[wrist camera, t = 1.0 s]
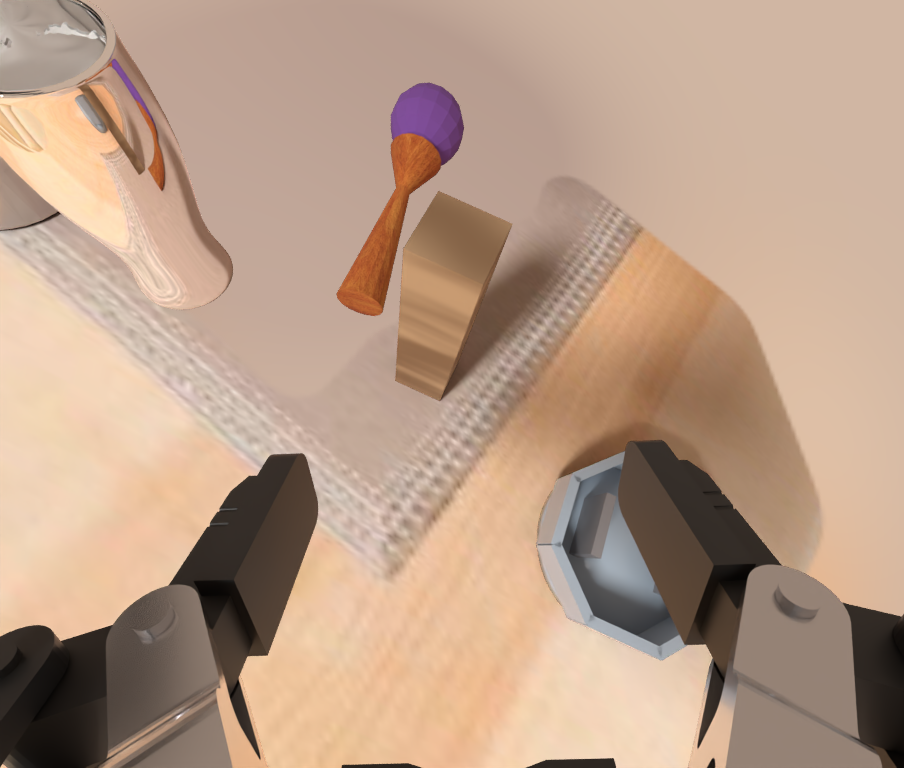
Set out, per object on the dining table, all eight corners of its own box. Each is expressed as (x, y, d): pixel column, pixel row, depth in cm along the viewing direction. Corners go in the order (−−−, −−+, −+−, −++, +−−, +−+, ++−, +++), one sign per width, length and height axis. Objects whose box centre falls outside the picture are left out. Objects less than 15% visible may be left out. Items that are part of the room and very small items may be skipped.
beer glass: (207, 330, 29) (41, 125, 15) (110, 294, 28) (-150, 55, 15) (258, 253, 31) (157, 20, 17) (169, 221, 31) (-4, -41, 17)
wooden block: (439, 401, 29) (483, 284, 16) (395, 380, 29) (403, 248, 16) (458, 361, 30) (512, 223, 18) (415, 341, 31) (438, 190, 18)
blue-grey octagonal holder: (672, 667, 25) (722, 688, 22) (514, 594, 25) (536, 602, 22) (700, 503, 29) (746, 497, 26) (563, 441, 29) (589, 425, 26)
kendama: (304, 269, 27) (397, 60, 33) (333, 315, 33) (408, 129, 39) (392, 287, 26) (470, 70, 32) (406, 331, 32) (471, 138, 38)
